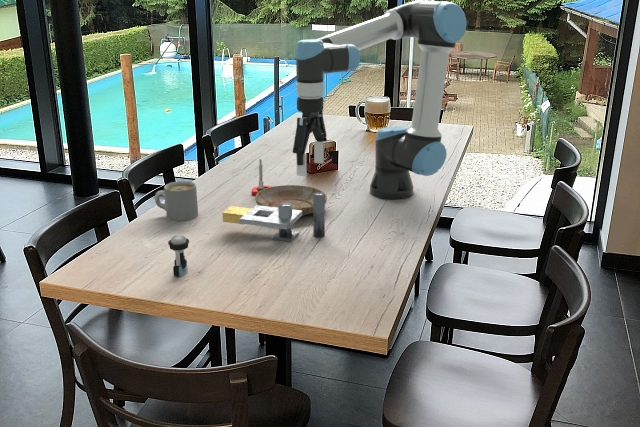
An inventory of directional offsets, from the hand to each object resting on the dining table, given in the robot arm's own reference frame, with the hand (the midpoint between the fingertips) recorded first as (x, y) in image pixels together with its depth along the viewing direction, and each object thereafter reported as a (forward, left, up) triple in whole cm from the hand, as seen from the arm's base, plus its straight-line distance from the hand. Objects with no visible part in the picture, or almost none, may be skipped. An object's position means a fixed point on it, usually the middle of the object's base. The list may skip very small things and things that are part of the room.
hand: (310, 169), depth 201 cm
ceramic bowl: (+13, -16, -20) cm, 29 cm away
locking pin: (-3, +2, -20) cm, 20 cm away
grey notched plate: (+14, +6, -20) cm, 25 cm away
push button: (+23, +37, -20) cm, 48 cm away
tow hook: (+29, -30, -20) cm, 46 cm away
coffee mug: (+46, 0, -20) cm, 50 cm away
